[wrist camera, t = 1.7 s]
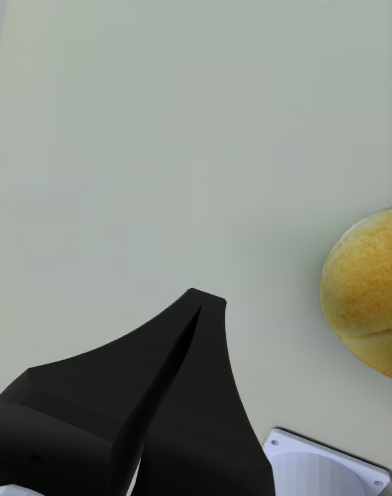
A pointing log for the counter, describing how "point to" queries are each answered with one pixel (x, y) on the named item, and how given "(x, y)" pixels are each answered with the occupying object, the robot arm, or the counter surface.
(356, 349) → the bread roll
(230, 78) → the counter surface
